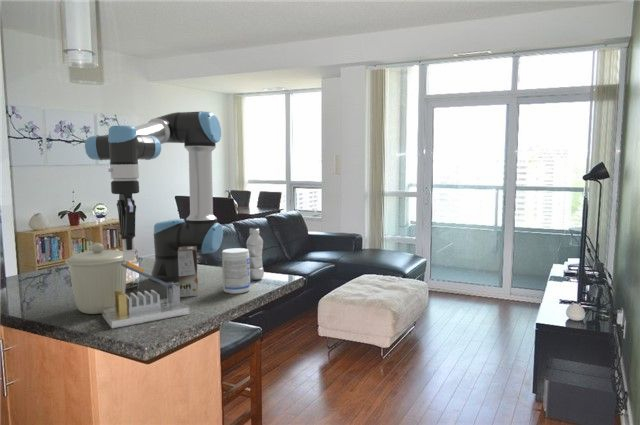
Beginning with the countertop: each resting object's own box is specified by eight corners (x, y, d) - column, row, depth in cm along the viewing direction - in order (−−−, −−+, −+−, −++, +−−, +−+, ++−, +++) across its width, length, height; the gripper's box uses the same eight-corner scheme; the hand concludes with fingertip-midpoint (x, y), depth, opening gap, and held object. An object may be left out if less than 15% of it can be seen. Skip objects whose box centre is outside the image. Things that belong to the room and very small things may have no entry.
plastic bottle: (243, 280, 189) (242, 229, 187) (255, 276, 195) (253, 227, 193) (256, 282, 186) (254, 230, 184) (267, 278, 191) (266, 228, 189)
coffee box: (198, 296, 168) (196, 249, 166) (179, 297, 166) (177, 250, 165) (198, 289, 177) (196, 245, 175) (179, 290, 175) (178, 246, 173)
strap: (119, 266, 144) (123, 259, 144) (172, 289, 153) (175, 283, 154) (122, 268, 141) (126, 261, 142) (175, 291, 151) (178, 285, 151)
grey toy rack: (102, 315, 147) (100, 289, 146) (174, 303, 160) (173, 279, 159) (112, 328, 136) (110, 300, 135) (189, 313, 148) (188, 288, 147)
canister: (141, 309, 153) (138, 242, 151) (80, 322, 141) (76, 250, 139) (118, 298, 166) (115, 236, 164) (60, 309, 154) (56, 243, 152)
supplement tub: (254, 291, 173) (253, 250, 171) (229, 296, 167) (228, 253, 166) (243, 286, 181) (242, 246, 179) (219, 289, 176) (217, 249, 174)
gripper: (106, 179, 144) (110, 258, 147) (116, 180, 134) (120, 265, 136) (132, 179, 149) (136, 255, 151) (144, 180, 138) (148, 262, 140)
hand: (128, 260), depth 143 cm, fingers closed
